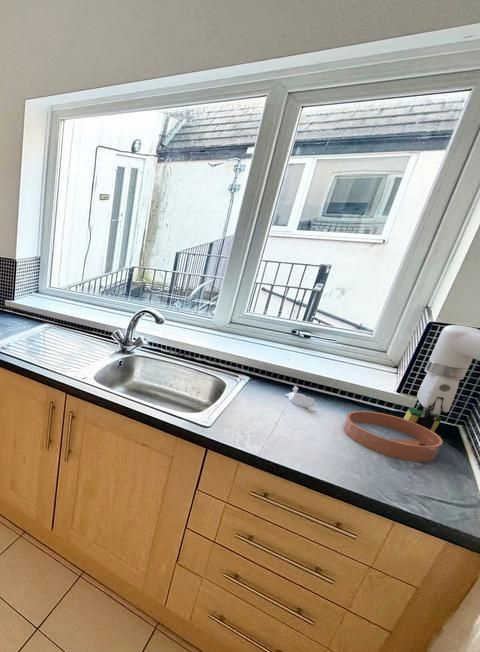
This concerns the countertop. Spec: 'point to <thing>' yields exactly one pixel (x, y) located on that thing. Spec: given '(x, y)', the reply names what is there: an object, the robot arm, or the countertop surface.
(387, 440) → the terracotta oval ring
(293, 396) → the wrapped candy
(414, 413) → the sponge
